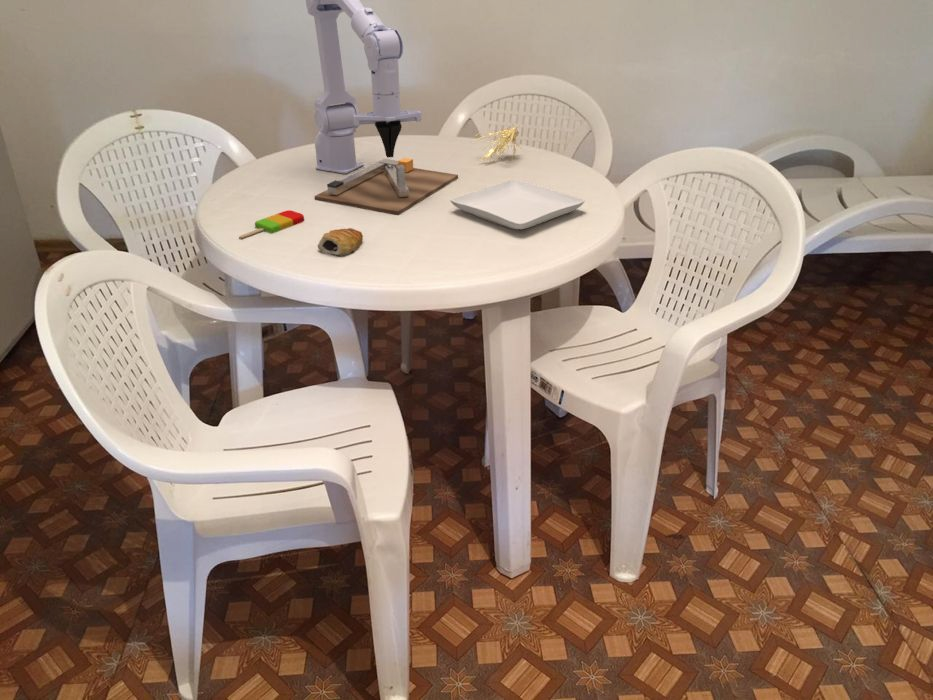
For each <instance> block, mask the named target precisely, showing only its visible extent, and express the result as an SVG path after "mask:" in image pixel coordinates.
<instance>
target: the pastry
mask: <svg viewBox="0 0 933 700" xmlns="http://www.w3.org/2000/svg"><path fill="white" fill-rule="evenodd" d="M363 237H364V236H363V233H362V231H359V230H357V229H354V228H352V227H348V228H341V229H340V228H339V229H333V230H329V232H326V233H323V235H322V237H321V239H320V240H319V243H318V244H317V248H318V250H319V251H320V252H321V253H323V254H327V255H334V256H346V255H348V254H349V255H350V254H351V253H352V252H353V251H354V252H355V251H356V250H357V249H358V248H359V247H360V246H361V245H362V244H363Z"/></svg>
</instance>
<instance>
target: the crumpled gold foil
mask: <svg viewBox="0 0 933 700" xmlns="http://www.w3.org/2000/svg"><path fill="white" fill-rule="evenodd" d="M511 126H512V127H511V128H509V127H508V126H505V128H506V129H501V130H497V131H495V130H493V131H494V132H490V131H487V130H486V131H484V133H487V134H486V135H484V136H480V137H478V138H476V139H474V140H473V141H472V142H471V143H473V142H476V141H478V140H481V139H483V138H484V137H485V138H492V137H493V135H494V136H495V138H494V139H493V138H492V139H490V140H489V139H488V142H489V141H490V142H491V143H490V144H488V145H487V146H485V147H483V146H482V147H480V149H481V151H483V150H485V149H487V148H489V147H490V148H489V150H488V151H487V153H486V154H485V155H483V156H482V157H480V158H479V160H478V162H480V161H481V160H482V159H483V160H482V163H484V162H486V161H487V160H488V159H489V157H491V158H493V156H495V155H496V156H497V159H495V162H497V161H498V160H499V158H498V157H499V156H501V155H503V154H504V153H505V151H506V150H507V151H506V153H508V150H509V149H507V148H509V146H510V144H511V147H510V148H512V147H513V152H512V154H513V155H512V157H511V160H513V158H514V156H515V154H516V153H517V148H516V147H518V148H520V150H523V148H522V147H521V146H520V145H521V142H520V143H517V137H519V135H520V131H519V130H517V128H518V127H519V125H513V123H512V125H511ZM478 135H479V133H477V134H476V135H475V136H476V137H477V136H478ZM484 142H485V143H486V142H487V140H485V141H484ZM492 146H495V147H494V148H493V147H492ZM482 148H483V149H482ZM491 161H492V159H490V161H489V162H491Z"/></svg>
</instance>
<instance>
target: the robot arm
mask: <svg viewBox="0 0 933 700" xmlns="http://www.w3.org/2000/svg"><path fill="white" fill-rule="evenodd" d="M305 4H306V9H307V14H308V15H309V16H312V17H313V20H314V25H315V26H314V27H315V33H316V39H317V40H316V41H317V47H318V54H319V62H320V68H321V69H320V70H321V75H322V83H323V89H324V91H322V93H321V94H320V95H319V96H318V97H317V98H316V99H315V101H314V122H315V125H316V128H317V130H318V133H317V134H316V136H315V139H314V140H315V141H314V148H315V158H316V166H315V170H321V171H325V172H326V171H328V172H333V173H339V174H343V175H344V174H345V175H346V174H349V173H351V172H353V171H354V170H357V169H359V168H362V167H363V166H364V163H361V162H357V158H356V156H357V155H356V146H355V144H356V143H355V135H354V133H357V128H359V126H361V125H362V126H363V125H374V126H375V127H376V129H377V132H378V134H379V136H380V139H381V142H382V144H383V148H384V152H385V156H386V158H394V154H395V147H396V144H397V141H398V138H399V135H400V132H401V131H402V127H403V126H402V123H403V122H404V123H405V122H422V112H421V110H402V109H401V97H400V96H401V95H400V74H399V73H400V72H399V60H400V59H401V58H402V56H403V53H404V44H403V38H402V36H401V34H400V32H399V30H398V29H397V28H391V27H387V26H386V25H385V24H384V22H383V21H382V20H381V18H380V17H379V16H378V15H377V14H376V13H375V11H374V10H373V9H372V8H371V7H365V6H364V5H363V3H362V2H361V0H305ZM341 13H345V14H346V16H348V17H349V18H350V19H351V20H350V25H351V26H350V27H351V29H352V30H353V32H354V33H355V34H356V36H358V38H359V39H360V40H361V42H362V43H363V44H364V45H363V49H364V54H365V56H366V60H367V67H368V70H370V74H371V75H370V77H371V91H372V104H373V111H372V112H364V113H360V110H359V108H358V105H357V100H356V97H355V96H354V95H352V94H351V93H349V91H348V92H347V91H346V87H345V80H344V79H345V77H344V69H343V63H342V55H341V47H340V37H339V31H338V22H337V20H338V17H339V15H340V14H341Z"/></svg>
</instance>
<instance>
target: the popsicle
mask: <svg viewBox="0 0 933 700" xmlns="http://www.w3.org/2000/svg"><path fill="white" fill-rule="evenodd" d="M304 221H305V216H304V214H303V213H301V212H297V211H294V210H291V209H289V210H284V211H281V212H279V213H276V214H273V215H271V216H268V217H264V218H262V219H259V220H256V221H255V222H254V227H255V228H256V229H255V230H252V231H250V232H247V233H244V234H242V235H239V236H238V238H239V239H245V238H247V237H250V236H252V235H256V234H258V233H260V232H267V233H269V234H275V233H277V232H280V231H282V230H285V229H287V228H290V227H293V226H296V225H298V224H302V223H303V222H304Z"/></svg>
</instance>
